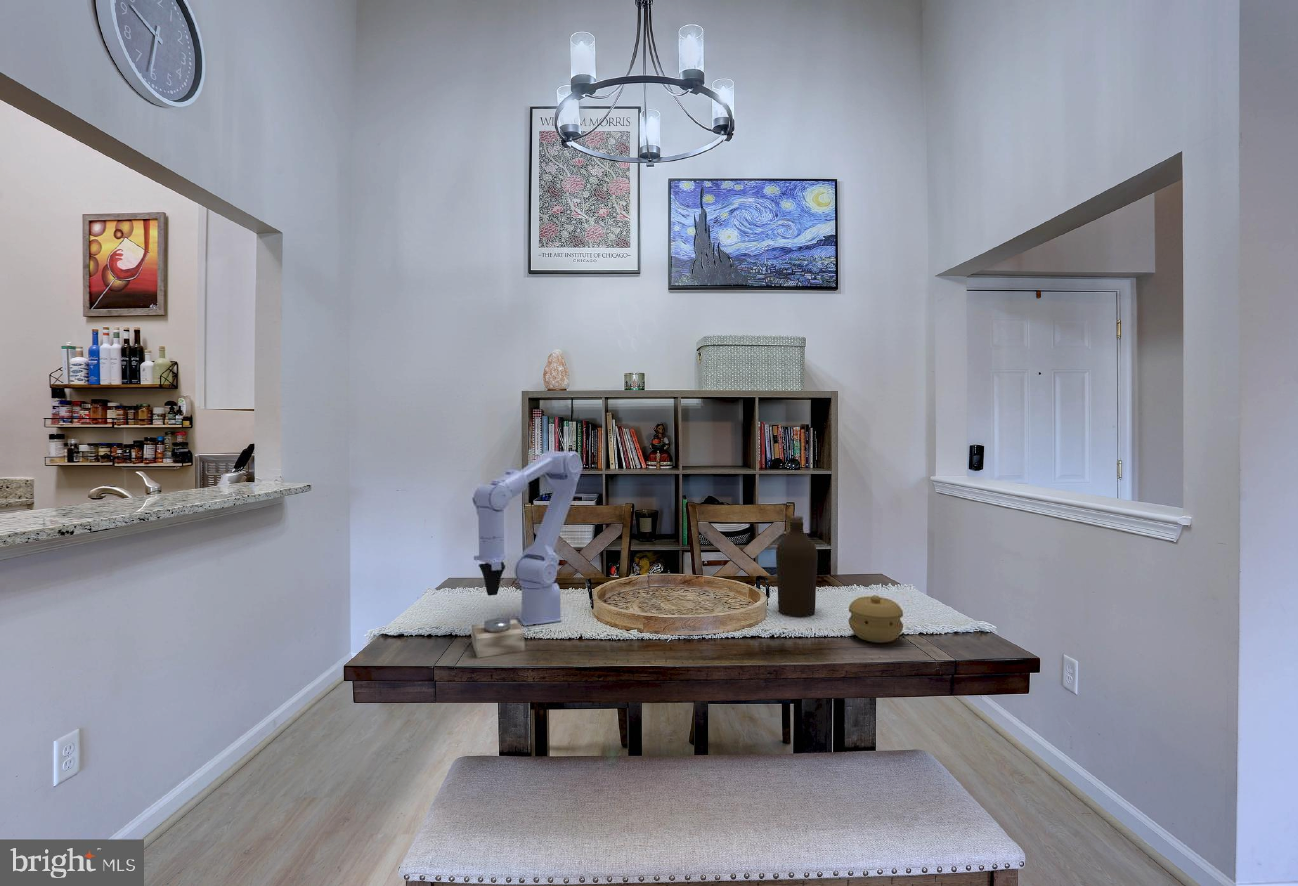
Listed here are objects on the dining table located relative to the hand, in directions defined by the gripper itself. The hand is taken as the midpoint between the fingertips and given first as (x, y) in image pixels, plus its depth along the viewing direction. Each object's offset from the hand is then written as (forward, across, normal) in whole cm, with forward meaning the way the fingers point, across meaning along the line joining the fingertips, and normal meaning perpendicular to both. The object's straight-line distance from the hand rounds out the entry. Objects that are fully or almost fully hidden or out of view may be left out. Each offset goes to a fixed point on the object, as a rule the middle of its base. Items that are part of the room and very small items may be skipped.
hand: (492, 594), depth 144 cm
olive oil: (+10, +13, +76) cm, 78 cm away
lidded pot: (+10, +37, +80) cm, 89 cm away
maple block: (+10, +7, 0) cm, 12 cm away
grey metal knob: (+9, +7, 0) cm, 12 cm away
